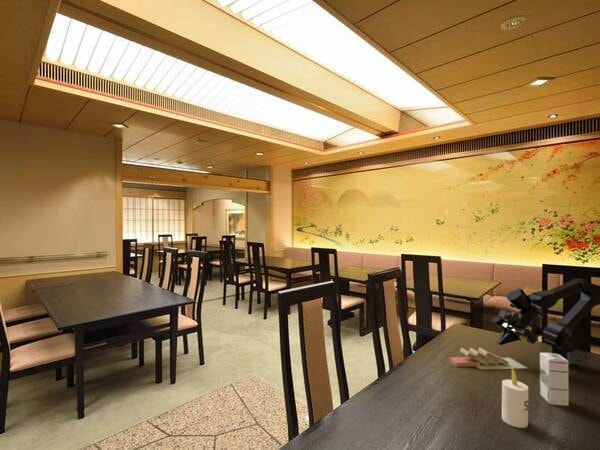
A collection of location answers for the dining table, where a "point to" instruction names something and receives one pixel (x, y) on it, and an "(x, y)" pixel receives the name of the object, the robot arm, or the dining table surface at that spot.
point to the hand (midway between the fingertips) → (499, 344)
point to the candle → (515, 402)
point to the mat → (502, 365)
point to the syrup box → (554, 378)
